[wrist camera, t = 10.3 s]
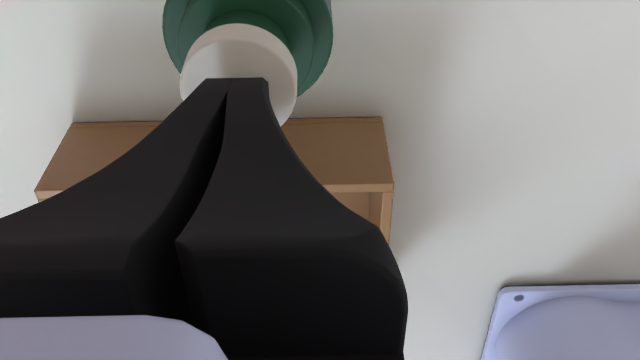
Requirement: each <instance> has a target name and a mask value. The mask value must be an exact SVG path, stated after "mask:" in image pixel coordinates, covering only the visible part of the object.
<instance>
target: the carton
mask: <svg viewBox="0 0 640 360" xmlns="http://www.w3.org/2000/svg"><path fill="white" fill-rule="evenodd" d="M162 122H163V121H153V122H102V123H72V124H71V126H70V128H69V129H68V131H67V133H66V135H65V136H64V138H63V140H62V142H61V144H60V145H59V147H58V149H57V151H56V152H55V154H54V156H53V158H52V160H51V161H50V163H49V165H48V167H47V168H46V170H45V172H44V174H43V176H42V177H41V179H40V181H39V183H38V185H37V186H36V188H35V190H34V192H35V194H36V197H37V198H38V202H41V201H43V200H45V199H48V198H50V197H52V196H54V195H56V194H58V193H60V192H62V191H64V190H66V189H68V188H69V187H71V186H73V185H75V184H77V183H78V182H80V181H82V180H84V179H86V178H87V177H89V176H91V175H93V174H94V173H96V172H98V171H99V170H101V169H103V168H104V167H106V166H107V165H109V164H110V163H112V162H113V161H115V160H116V159H118V158H119V157H120V156H122V155H123V154H125V153H126V152H127V151H129V150H130V149H131V148H133V147H134V146H135V145H136V144H138V143H139V142H140V141H141V140H142V139H143V138H145V137H146V136H147V135H148V134H149V133H150V132H152V131H153V130H154V129H155V128H156V127H157V126H158V125H160V124H161V123H162ZM280 127H281V129H282V131H283V133H284V135H285V136H286V138H287V140H288V141H289V143H290V145H291V147H292V148H293V150H294V151H295V153H296V154H297V156H298V157H299V159H300V160H301V161H302V162H303V164H304V165H305V166H306V168H307V169H308V170H309V171H310V173H311V174H312V175H313V176H314V177H315V178H316V179H317V181H318V182H319V183H320V184H321V185H322V186H324V187H325V188H326V189H327V190H328V191H329V192H330V193H331V194H332V195H333V196H334V197H335V198H336V199H337V200H338V201H339V202H341V203H342V204H343V205H344V206H346V207H347V208H349V209H350V210H352V211H353V212H355V213H356V214H358V215H360V216H361V217H363V218H365V219H366V220H368V221H370V222H371V223H373V224H374V225H376V226H377V227H379V228H380V230H381V232H382V233H383V235H384V237H385V239H386V241H387V243H388V245H389V238H390V226H391V214H392V202H393V190H394V181H393V175H392V170H391V164H390V158H389V153H388V147H387V142H386V136H385V130H384V125H383V119H382V117H359V118H308V119H287V120H286V122H285V123H284V124H283V125H282V126H280Z"/></svg>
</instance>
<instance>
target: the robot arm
mask: <svg viewBox="0 0 640 360" xmlns="http://www.w3.org/2000/svg"><path fill="white" fill-rule="evenodd" d="M407 315H408V300H407V293H406V289H405V285H404V282H403V279H402V276H401V273H400V270H399V268H398V265H397V263H396V260H395V258H394V256H393V254H392V251H391V249H390V247H389V245H388V243H387V241H386V239H385V237H384V235H383V233H382V232H381V230H380V228H379V227H377V226H376V225H374V224H373V223H371V222H370V221H368V220H366V219H365V218H363V217H361V216H360V215H358V214H356V213H355V212H353V211H352V210H350V209H349V208H347V207H346V206H344V205H343V204H342V203H341V202H339V201H338V200H337V199H336V198H335V197H334V196H333V195H332V194H331V193H330V192H329V191H328V190H327V189H326V188H325V187H324V186H322V185H321V184H320V183H319V182H318V181H317V179H316V178H315V177H314V176H313V175H312V174H311V173H310V171H309V170H308V169H307V168H306V166H305V165H304V164H303V162H302V161H301V160H300V159H299V157H298V156H297V154H296V153H295V151H294V150H293V148H292V147H291V145H290V143H289V141H288V140H287V138H286V136H285V135H284V133H283V131H282V129H281V127H280V125H279V122H278V120H277V118H276V116H275V114H274V111H273V108H272V105H271V102H270V97H269V83H268V81H266V80H265V79H264V78H263V77H254V78H206V79H205V80H204V81H202V82H201V84H200V85H199V86H198V87H197V88H196V89H195V90H194V91H193V92H192V93H191V94H190V95H189V96H188V97H187V98H186V99H185V100H184V101H183V102H182V103H181V104H180V105H179V106H178V107H177V108H176V109H175V110H174V111H173V112H172V113H171V114H170V115H169V116H168V117H167V118H166V119H165V120H164V121H163V122H162V123H161V124H160V125H158V126H157V127H156V128H155V129H154V130H153V131H152V132H150V133H149V134H148V135H147V136H146V137H145V138H143V139H142V140H141V141H140V142H139V143H138V144H136V145H135V146H134V147H133V148H131V149H130V150H129V151H127V152H126V153H125V154H123V155H122V156H120V157H119V158H118V159H116V160H115V161H113V162H112V163H110V164H109V165H107V166H106V167H104V168H103V169H101V170H99V171H98V172H96V173H94V174H93V175H91V176H89V177H87V178H86V179H84V180H82V181H80V182H78V183H77V184H75V185H73V186H71V187H69V188H68V189H66V190H64V191H62V192H60V193H58V194H56V195H54V196H52V197H50V198H48V199H45V200H43V201H41V202H39V203H37V204H34V205H32V206H30V207H27V208H25V209H23V210H20V211H18V212H15V213H13V214H10V215H8V216H5V217H2V218H0V360H404V355H403V348H404V339H405V331H406V323H407ZM481 360H640V284H614V285H565V286H517V287H505V288H502V289H501V290H500V291H499V293H498V295H497V299H496V303H495V307H494V311H493V315H492V319H491V322H490V326H489V330H488V334H487V338H486V342H485V346H484V349H483V353H482V357H481Z"/></svg>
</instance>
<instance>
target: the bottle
mask: <svg viewBox="0 0 640 360" xmlns="http://www.w3.org/2000/svg"><path fill="white" fill-rule="evenodd" d="M162 28H163V36H164V41H165V45H166V48H167V51H168V53H169V56H170V58H171V60H172V62H173V63H174V65H175V67H176V68H177V70H178V71H179V72H180V74H181V76H180V93H181V97H182V100H183V101H184V100H185V99H186V98H187V97H188V96H189V95H190V94H191V93H192V92H193V91H194V90H195V89H196V88H197V87H198V86H199V85H200V84H201V82H202V81H204V80H205V79H206V78H254V77H263V78H264V79H265V80H266V81H268V83H269V97H270V102H271V105H272V108H273V111H274V114H275V116H276V118H277V120H278V122H279V125H280V126H282V125H283V124H284V123H285V122H286V120H287V119H288V118H289V116H290V115H291V113H292V111H293V109H294V106H295V103H296V98H297V97H298V96H300V95H301V94H302V93H304V92H305V91H306V90H307V89H309V88H310V87H311V86H312V85H313V84H314V83H315V82H316V81H317V79H318V78H319V76H320V75H321V74H322V72H323V70H324V68H325V67H326V65H327V62H328V60H329V57H330V54H331V49H332V44H333V24H332V11H331V0H166V3H165V6H164V12H163V25H162Z"/></svg>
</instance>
